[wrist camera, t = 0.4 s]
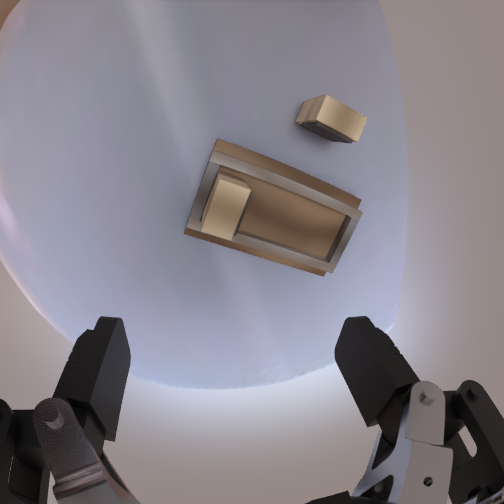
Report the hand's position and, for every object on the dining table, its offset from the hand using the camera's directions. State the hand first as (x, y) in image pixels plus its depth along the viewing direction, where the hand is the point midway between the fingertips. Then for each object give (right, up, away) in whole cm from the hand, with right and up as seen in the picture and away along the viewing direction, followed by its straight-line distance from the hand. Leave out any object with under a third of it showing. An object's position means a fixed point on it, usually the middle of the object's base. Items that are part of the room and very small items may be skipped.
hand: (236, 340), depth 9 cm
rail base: (+3, +8, +26) cm, 27 cm away
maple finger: (+9, +19, +21) cm, 30 cm away
